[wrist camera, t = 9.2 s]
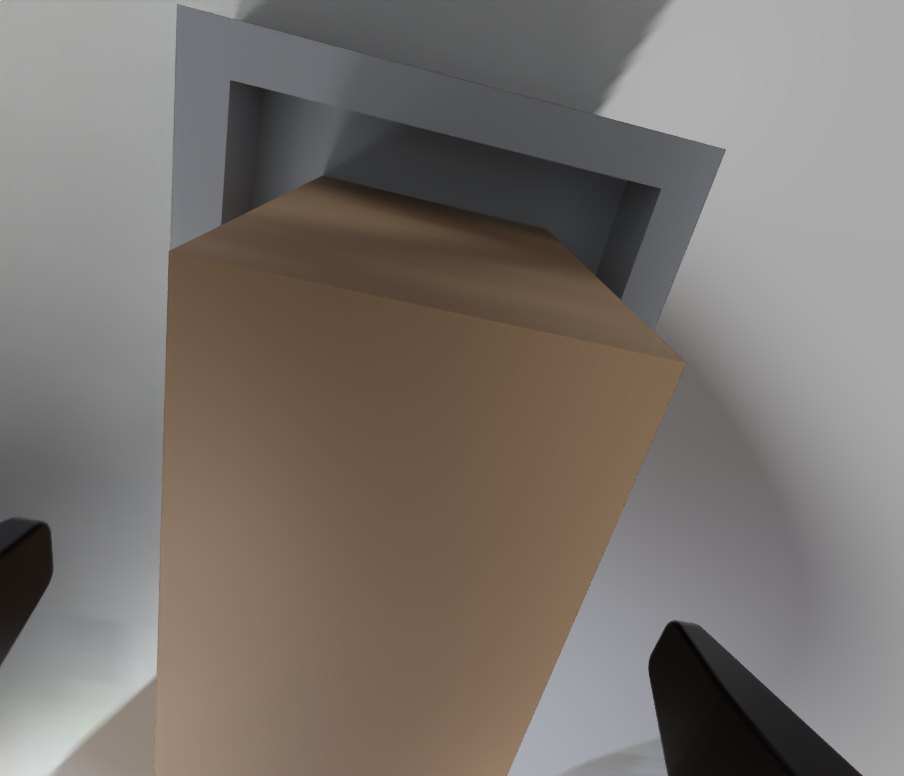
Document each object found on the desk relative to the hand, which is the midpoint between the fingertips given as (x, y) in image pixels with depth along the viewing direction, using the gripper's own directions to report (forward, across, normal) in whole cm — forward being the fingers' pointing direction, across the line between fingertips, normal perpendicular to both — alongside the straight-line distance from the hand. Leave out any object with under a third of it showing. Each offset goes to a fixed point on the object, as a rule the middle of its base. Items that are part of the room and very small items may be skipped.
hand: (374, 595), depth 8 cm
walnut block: (+5, 0, 0) cm, 5 cm away
